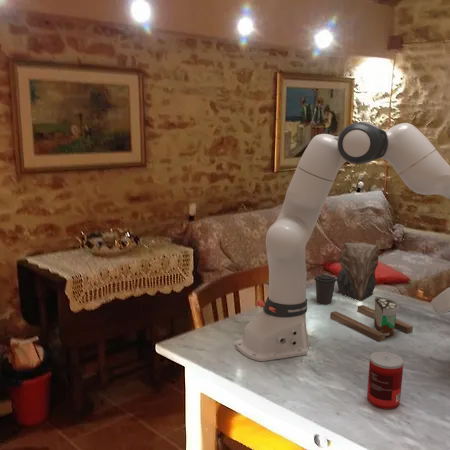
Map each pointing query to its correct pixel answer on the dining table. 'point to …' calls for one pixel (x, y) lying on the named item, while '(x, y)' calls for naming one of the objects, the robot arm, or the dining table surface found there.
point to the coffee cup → (324, 288)
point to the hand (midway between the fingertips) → (444, 310)
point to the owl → (358, 270)
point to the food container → (385, 315)
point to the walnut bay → (364, 328)
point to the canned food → (385, 379)
